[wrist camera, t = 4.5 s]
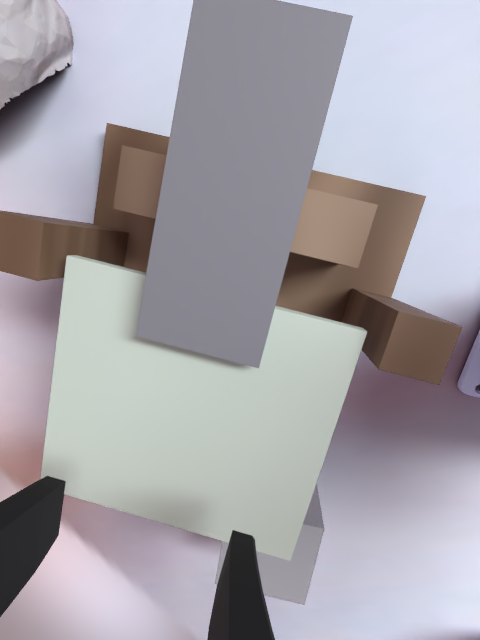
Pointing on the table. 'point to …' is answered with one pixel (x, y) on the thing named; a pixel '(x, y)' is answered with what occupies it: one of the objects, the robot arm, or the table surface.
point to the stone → (31, 44)
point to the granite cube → (295, 574)
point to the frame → (303, 262)
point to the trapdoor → (213, 302)
